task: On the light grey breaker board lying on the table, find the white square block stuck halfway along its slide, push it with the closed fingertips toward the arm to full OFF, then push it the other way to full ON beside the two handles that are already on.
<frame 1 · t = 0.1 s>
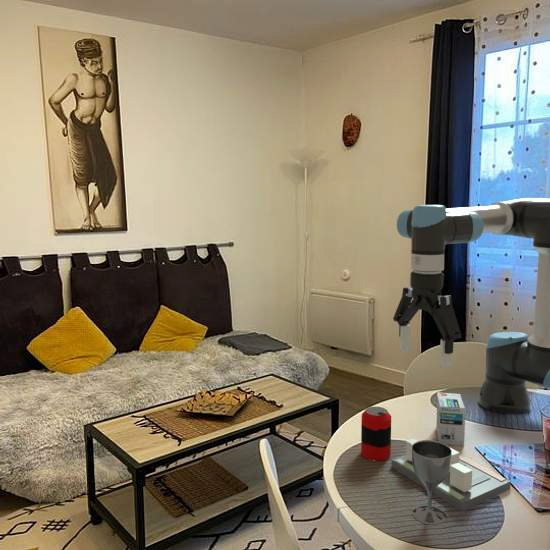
hand: (424, 358, 132), 28 cm above the table, tool pointing down, fingers open, 13 cm apart
breaker board: (448, 477, 131), on the table
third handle: (460, 477, 123), point 5 cm above the table, slide at 8.0 cm
white square block: (449, 459, 131), point 5 cm above the table, slide at 4.0 cm
wine glass: (429, 515, 117), on the table
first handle: (415, 451, 135), point 5 cm above the table, slide at 8.0 cm
light bulb box: (449, 437, 153), on the table
soda can: (375, 455, 143), on the table
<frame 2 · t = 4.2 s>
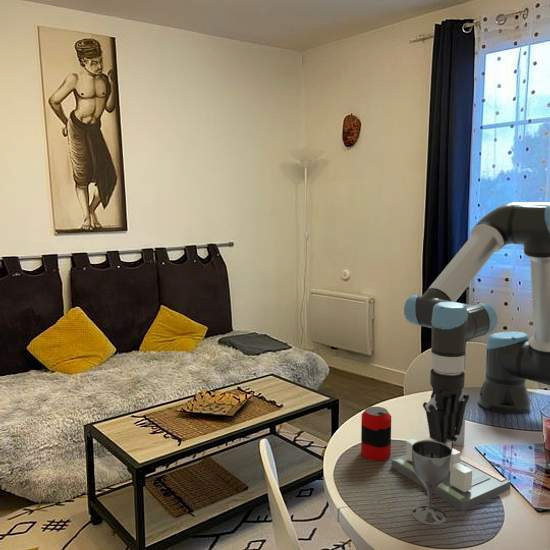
hand: (444, 465, 130), 4 cm above the table, tool pointing down, fingers closed
white square block: (450, 458, 131), point 5 cm above the table, slide at 3.6 cm, touching gripper
everything else where it was.
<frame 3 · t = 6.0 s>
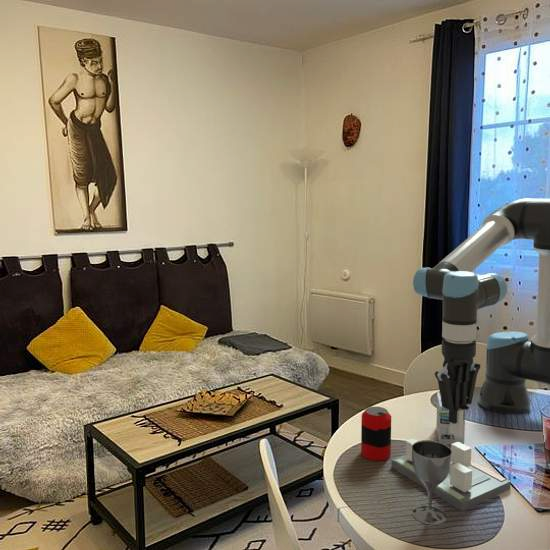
hand: (456, 434, 131), 10 cm above the table, tool pointing down, fingers closed
white square block: (460, 454, 133), point 5 cm above the table, slide at -0.1 cm
everything else where it was.
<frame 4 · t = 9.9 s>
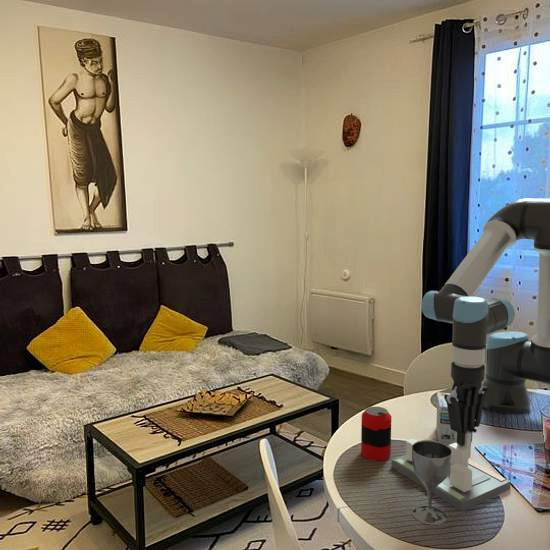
hand: (463, 456, 133), 4 cm above the table, tool pointing down, fingers closed
white square block: (458, 455, 132), point 5 cm above the table, slide at 0.9 cm, touching gripper
everything else where it was.
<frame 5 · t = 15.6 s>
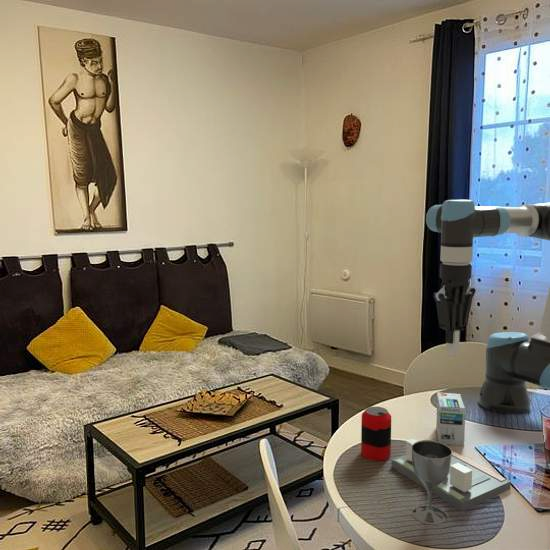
hand: (452, 354, 140), 26 cm above the table, tool pointing down, fingers closed
white square block: (438, 463, 129), point 5 cm above the table, slide at 7.4 cm
everything else where it was.
at the end: white square block slide at 7.4 cm; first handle slide at 8.0 cm; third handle slide at 8.0 cm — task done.
